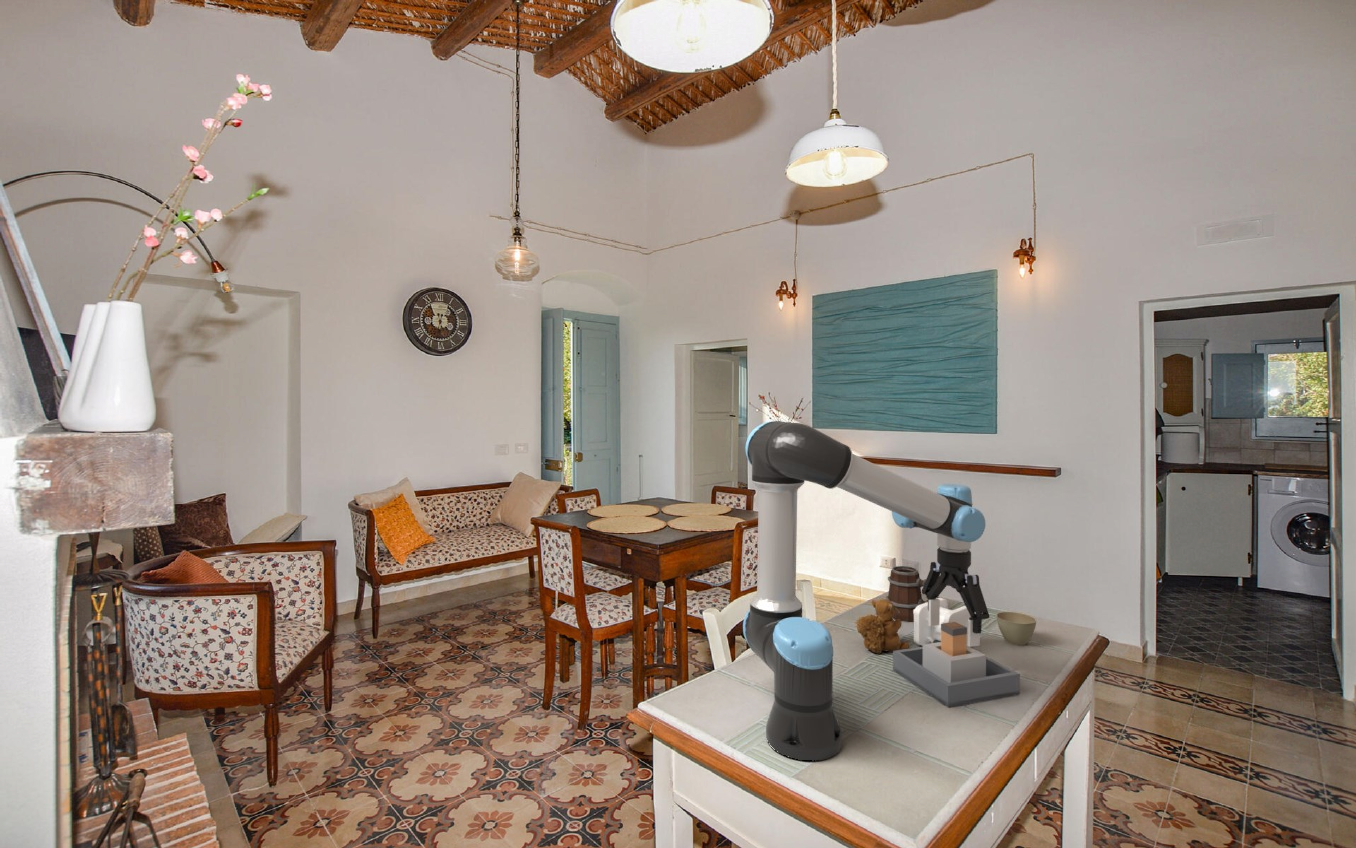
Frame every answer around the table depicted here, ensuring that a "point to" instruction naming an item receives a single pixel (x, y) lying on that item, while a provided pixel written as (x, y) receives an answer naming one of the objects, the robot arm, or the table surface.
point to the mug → (905, 592)
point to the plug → (953, 638)
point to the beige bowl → (1016, 627)
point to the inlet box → (956, 675)
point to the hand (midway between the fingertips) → (953, 635)
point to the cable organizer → (931, 633)
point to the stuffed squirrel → (881, 628)
